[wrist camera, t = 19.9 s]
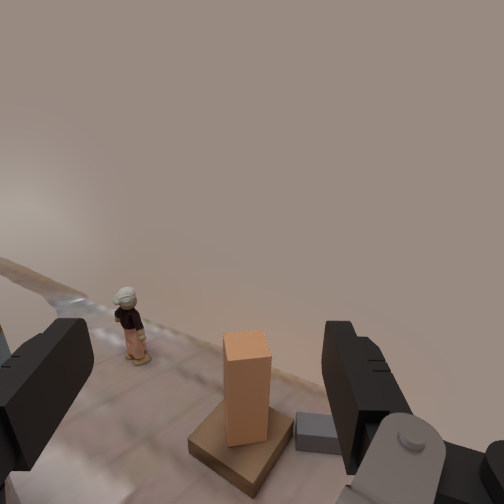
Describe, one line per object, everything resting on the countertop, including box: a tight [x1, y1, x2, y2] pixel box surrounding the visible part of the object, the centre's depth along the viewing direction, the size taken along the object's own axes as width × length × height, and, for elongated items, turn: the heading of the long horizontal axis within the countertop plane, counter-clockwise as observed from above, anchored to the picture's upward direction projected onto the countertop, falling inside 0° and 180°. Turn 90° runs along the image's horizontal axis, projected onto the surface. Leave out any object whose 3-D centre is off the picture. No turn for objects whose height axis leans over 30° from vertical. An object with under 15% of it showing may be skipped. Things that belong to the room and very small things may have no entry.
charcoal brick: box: [295, 412, 342, 455], centre depth 40 cm, size 3×6×3 cm, turn 84°
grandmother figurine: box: [113, 286, 151, 366], centre depth 52 cm, size 8×4×13 cm, turn 61°
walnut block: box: [187, 400, 294, 499], centre depth 40 cm, size 9×9×3 cm
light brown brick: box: [223, 330, 272, 447], centre depth 37 cm, size 4×4×12 cm
